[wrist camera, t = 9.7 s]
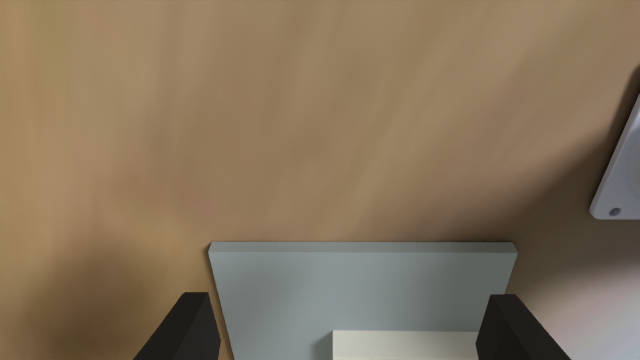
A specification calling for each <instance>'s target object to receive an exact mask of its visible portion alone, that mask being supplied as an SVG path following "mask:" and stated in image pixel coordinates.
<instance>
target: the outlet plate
mask: <svg viewBox="0 0 640 360" xmlns="http://www.w3.org/2000/svg"><path fill="white" fill-rule="evenodd" d="M208 254H209V258H210V262H211V266H212V270H213V274H214V278H215V282H216V286H217V290H218V294H219V298H220V303H221V307H222V311H223V315H224V319H225V323H226V327H227V331H228V335H229V339H230V343H231V347H232V351H233V355H234V359H235V360H479V359H478V354H477V350H476V345H475V343H476V339H477V336H478V333H479V330H480V327H481V323H482V320H483V317H484V314H485V311H486V307H487V304H488V301H489V298H490V294H504V293H505V290H506V287H507V285H508V282H509V279H510V276H511V273H512V270H513V267H514V264H515V261H516V258H517V255H518V252H517V250H516V248H515V246H514V244H513V242H212V243H211V246H210V248H209V251H208Z"/></svg>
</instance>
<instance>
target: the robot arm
mask: <svg viewBox="0 0 640 360" xmlns="http://www.w3.org/2000/svg"><path fill="white" fill-rule="evenodd" d="M613 208H615V209H614V210H612V209H613ZM611 210H612V211H611ZM589 211H590V213H591V215H592V216H593V217H594V218H596V219H640V94H639V96H638V98H637V101H636V103H635V105H634V108H633V110H632V112H631V114H630V117H629V119H628V121H627V124H626V126H625V128H624V130H623V133H622V135H621V137H620V140H619V142H618V144H617V146H616V149H615V151H614V153H613V156H612V158H611V160H610V162H609V165H608V167H607V169H606V172H605V174H604V176H603V179H602V181H601V183H600V185H599V188H598V190H597V192H596V195H595V197H594V199H593V201H592V204H591V206H590V209H589ZM220 343H221V339H220V336H219V332H218V328H217V324H216V321H215V317H214V313H213V309H212V306H211V302H210V298H209V294H208V292H185V293H184V294H182V295H181V297H180V298H179V299H178V301H177V302H176V304H175V305H174V306H173V308H172V309H171V311H170V312H169V313H168V315H167V316H166V317H165V319H164V320H163V321H162V323H161V324H160V325H159V327H158V328H157V329H156V331H155V332H154V333H153V335H152V336H151V337H150V339H149V340H148V341H147V343H146V344H145V345H144V346H143V348H142V349H141V350H140V351H139V353H138V354H137V355H136V356H135V358H134V359H133V360H218V355H219V349H220ZM475 345H476V350H477V354H478V359H479V360H571V359H570V358H569V357H568V355H567V354H566V353H565V352H564V351H563V350H562V349H561V347H560V346H559V345H558V344H557V343H556V342H555V340H554V339H553V338H552V337H551V336H550V335H549V333H548V332H547V331H546V330H545V329H544V328H543V326H542V325H541V324H540V323H539V322H538V320H537V319H536V318H535V317H534V316H533V314H532V313H531V312H530V311H529V310H528V308H527V307H526V306H525V305H524V304H523V303H522V301H521V300H520V299H519V298H518V297H517V296H516V295H515V294H490V298H489V301H488V304H487V307H486V311H485V314H484V317H483V320H482V323H481V327H480V330H479V333H478V336H477V339H476V343H475Z"/></svg>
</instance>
